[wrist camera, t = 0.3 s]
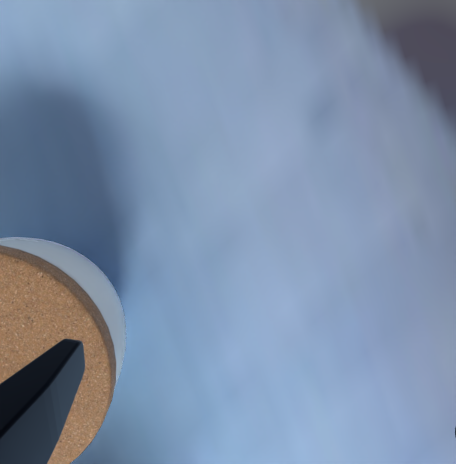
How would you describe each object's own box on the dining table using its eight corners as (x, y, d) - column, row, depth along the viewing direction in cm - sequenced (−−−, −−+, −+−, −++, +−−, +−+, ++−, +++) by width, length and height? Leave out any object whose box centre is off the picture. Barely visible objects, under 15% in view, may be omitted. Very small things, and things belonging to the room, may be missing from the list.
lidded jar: (-57, 236, 22) (-252, 285, 13) (125, 206, 22) (60, 234, 13) (-9, 402, 24) (-149, 549, 15) (160, 374, 24) (125, 504, 15)
